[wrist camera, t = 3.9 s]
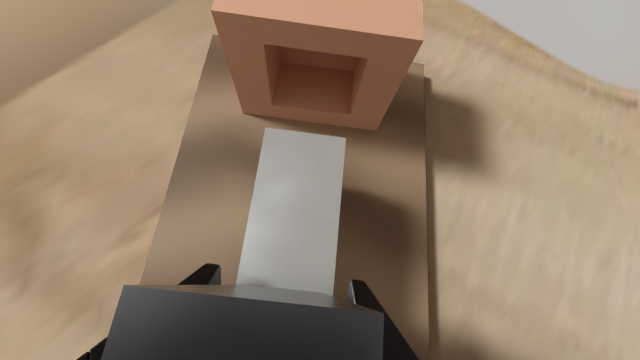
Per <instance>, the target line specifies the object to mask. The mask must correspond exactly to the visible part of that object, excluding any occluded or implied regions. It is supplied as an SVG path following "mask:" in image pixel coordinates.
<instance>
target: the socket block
mask: <svg viewBox="0 0 640 360" xmlns="http://www.w3.org/2000/svg"><path fill="white" fill-rule="evenodd" d="M211 12H212V15H213V18H214V21H215V25H216V28H217V31H218V34H219V38H220V41H221V44H222V47H223V50H224V54H225V57H226V60H227V63H228V67H229V70H230V73H231V76H232V79H233V83H234V86H235V89H236V92H237V96H238V99H239V102H240V105H241V108H242V112H243V113H244V114H252V115H259V116H267V117H274V118H282V119H290V120H297V121H305V122H313V123H320V124H328V125H336V126H343V127H351V128H359V129H366V130H374V131H376V130H377V128H378V126H379V125H380V123H381V121H382V119H383V117H384V115H385V113H386V111H387V109H388V107H389V105H390V103H391V102H392V100H393V98H394V96H395V94H396V92H397V90H398V88H399V86H400V84H401V82H402V80H403V79H404V77H405V75H406V73H407V71H408V69H409V67H410V65H411V63H412V61H413V59H414V58H415V56H416V54H417V52H418V50H419V48H420V46H421V44H422V42H423V0H214V2H213V5H212V9H211Z"/></svg>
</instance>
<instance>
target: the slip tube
mask: <svg viewBox="0 0 640 360" xmlns="http://www.w3.org/2000/svg"><path fill="white" fill-rule="evenodd" d="M345 144H346V138H344V137H336V136H328V135H320V134H313V133H305V132H297V131H290V130H282V129H274V128H266V127H265V132H264V137H263V142H262V148H261V153H260V158H259V163H258V169H257V174H256V179H255V185H254V190H253V195H252V200H251V206H250V211H249V216H248V222H247V227H246V232H245V237H244V243H243V248H242V253H241V259H240V264H239V269H238V274H237V280H236V285H124V286H123V290H122V293H121V296H120V299H119V303H118V306H117V309H116V312H115V315H114V319H113V322H112V325H111V328H110V332H109V335H108V338H107V341H106V344H105V348H104V351H103V354H102V357H101V360H383V333H384V313H382V312H379V311H376V310H373V309H370V308H367V307H364V306H361V305H358V304H354V303H351V302H348V301H345V300H342V299H339V298H336V297H333V289H334V277H335V265H336V253H337V241H338V229H339V217H340V204H341V192H342V180H343V168H344V156H345Z"/></svg>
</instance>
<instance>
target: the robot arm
mask: <svg viewBox="0 0 640 360" xmlns="http://www.w3.org/2000/svg"><path fill="white" fill-rule="evenodd" d="M177 285H221V266H220V265H219V264H212V263H206V264H204V265H203V266H201V267H200V268H199V269H197V270H196V271H195V272H193V273H192V274H191V275H189V276H188V277H187V278H185V279H184V280H183V281H181V282H180V283H179V284H177ZM346 301H348V302H351V303H354V304H358V305H361V306H364V307H367V308H370V309H373V310H376V311H379V312H382V313H384V333H383V360H420V359H419V357H418V356H417V355H416V353H415V352H414V350H413V349H412V347H411V346H410V345H409V343H408V342H407V340H406V339H405V338H404V336H403V335H402V333H401V332H400V330H399V329H398V328H397V326H396V325H395V323H394V322H393V321H392V319H391V318H390V316H389V315H388V314H387V312H386V311H385V309H384V308H383V306H382V305H381V304H380V302H379V301H378V299H377V298H376V297H375V295H374V294H373V292H372V291H371V289H370V288H369V287H368V285H367V284H366V282H365V281H363V280H355V279H352V280H350V282H349V287H348V291H347V296H346ZM107 338H108V337H106V338H105V339H104V340H102V341H101V342H100V343H98V344H97V345H96V346H94V347H93V348H92V349H91V350H90V352H86V353H85V354H83V355H82V356H81V357H79V358H78V359H77V360H101V357H102V354H103V351H104V348H105V344H106V341H107Z"/></svg>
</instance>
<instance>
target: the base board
mask: <svg viewBox="0 0 640 360" xmlns="http://www.w3.org/2000/svg"><path fill="white" fill-rule="evenodd" d="M265 127H266V128H274V129H282V130H290V131H297V132H305V133H313V134H320V135H328V136H336V137H344V138H346V144H345V156H344V168H343V180H342V192H341V204H340V217H339V229H338V241H337V253H336V265H335V277H334V289H333V297H336V298H339V299H342V300H345V301H346V296H347V291H348V287H349V282H350V280H352V279H355V280H363V281H365V282H366V284H367V285H368V287H369V288H370V289H371V291H372V292H373V294H374V295H375V297H376V298H377V299H378V301H379V302H380V304H381V305H382V306H383V308H384V309H385V311H386V312H387V314H388V315H389V316H390V318H391V319H392V321H393V322H394V323H395V325H396V326H397V328H398V329H399V330H400V332H401V333H402V335H403V336H404V338H405V339H406V340H407V342H408V343H409V345H410V346H411V347H412V349H413V350H414V352H415V353H416V355H417V356H418V357H419V359H420V360H429V316H428V264H427V213H426V162H425V111H424V64H418V63H411V65H410V67H409V69H408V71H407V73H406V75H405V77H404V79H403V80H402V82H401V84H400V86H399V88H398V90H397V92H396V94H395V96H394V98H393V100H392V102H391V103H390V105H389V107H388V109H387V111H386V113H385V115H384V117H383V119H382V121H381V123H380V125H379V126H378V128H377V130H376V131H374V130H366V129H359V128H351V127H343V126H336V125H328V124H320V123H313V122H305V121H297V120H290V119H282V118H274V117H267V116H259V115H252V114H244V113H243V112H242V108H241V105H240V102H239V99H238V96H237V92H236V89H235V86H234V83H233V79H232V76H231V73H230V70H229V67H228V63H227V60H226V57H225V54H224V50H223V47H222V44H221V41H220V38H219V36H218V35H213V36H212V40H211V43H210V47H209V50H208V54H207V57H206V60H205V64H204V67H203V71H202V74H201V77H200V81H199V84H198V88H197V91H196V94H195V98H194V101H193V105H192V108H191V112H190V115H189V118H188V122H187V125H186V129H185V132H184V135H183V139H182V142H181V146H180V149H179V152H178V156H177V159H176V163H175V166H174V169H173V173H172V176H171V180H170V183H169V187H168V190H167V193H166V197H165V200H164V204H163V207H162V210H161V214H160V217H159V221H158V224H157V227H156V231H155V234H154V238H153V241H152V245H151V248H150V251H149V255H148V258H147V262H146V265H145V268H144V272H143V275H142V279H141V282H140V285H177V284H179V283H180V282H181V281H183V280H184V279H185V278H187V277H188V276H189V275H191V274H192V273H193V272H195V271H196V270H197V269H199V268H200V267H201V266H203V265H204V264H206V263H212V264H219V265H220V266H221V285H236V280H237V274H238V269H239V264H240V259H241V253H242V248H243V243H244V237H245V232H246V227H247V222H248V216H249V211H250V206H251V200H252V195H253V190H254V185H255V179H256V174H257V169H258V163H259V158H260V153H261V148H262V142H263V137H264V132H265Z"/></svg>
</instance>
